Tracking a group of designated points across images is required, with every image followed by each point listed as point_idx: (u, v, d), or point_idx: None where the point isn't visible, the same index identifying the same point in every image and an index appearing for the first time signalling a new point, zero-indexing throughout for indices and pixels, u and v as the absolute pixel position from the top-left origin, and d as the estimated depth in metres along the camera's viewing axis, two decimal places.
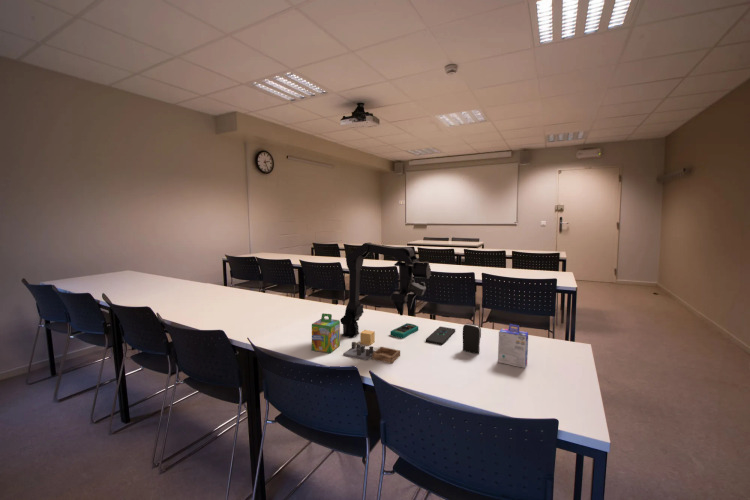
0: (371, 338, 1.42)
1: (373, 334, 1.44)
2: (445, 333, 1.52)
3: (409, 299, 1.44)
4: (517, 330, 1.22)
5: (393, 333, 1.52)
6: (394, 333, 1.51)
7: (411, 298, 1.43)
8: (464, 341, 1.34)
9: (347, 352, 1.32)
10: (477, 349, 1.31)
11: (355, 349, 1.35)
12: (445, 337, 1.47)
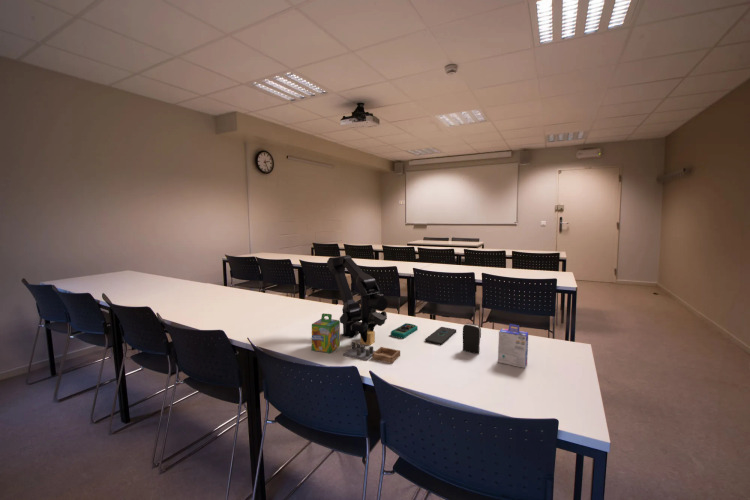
0: (371, 337, 1.42)
1: (373, 334, 1.44)
2: (445, 333, 1.52)
3: (369, 328, 1.46)
4: (517, 330, 1.22)
5: (393, 334, 1.51)
6: (394, 333, 1.51)
7: (371, 328, 1.46)
8: (464, 341, 1.34)
9: (347, 352, 1.32)
10: (477, 349, 1.31)
11: (355, 349, 1.35)
12: (445, 337, 1.47)
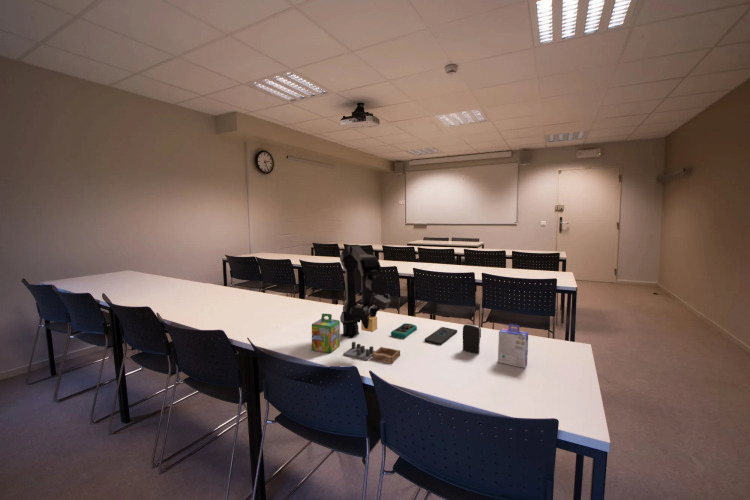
0: (373, 323, 1.27)
1: (375, 319, 1.28)
2: (446, 334, 1.51)
3: (371, 314, 1.31)
4: (517, 330, 1.22)
5: (393, 334, 1.51)
6: (395, 334, 1.51)
7: (373, 313, 1.30)
8: (464, 341, 1.34)
9: (347, 352, 1.32)
10: (477, 349, 1.31)
11: (355, 349, 1.35)
12: (445, 337, 1.46)
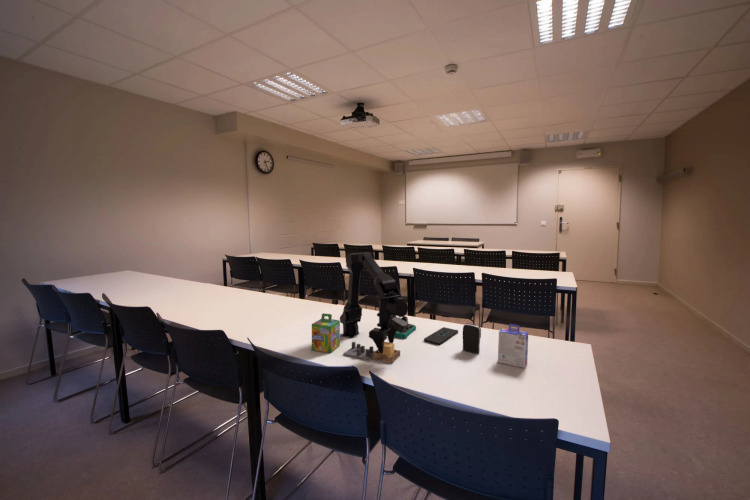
0: (391, 351, 1.27)
1: (393, 346, 1.28)
2: (446, 334, 1.51)
3: (391, 333, 1.33)
4: (517, 330, 1.22)
5: None
6: (395, 334, 1.50)
7: (393, 333, 1.32)
8: (464, 341, 1.34)
9: (347, 352, 1.32)
10: (477, 349, 1.31)
11: (355, 349, 1.35)
12: (444, 338, 1.46)
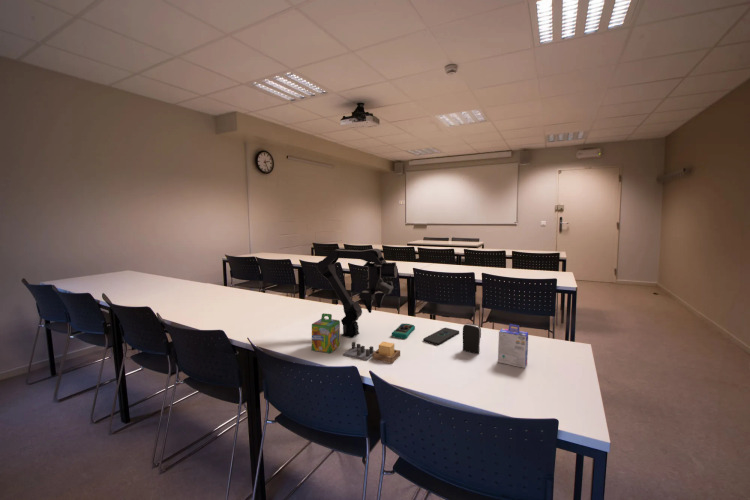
0: (391, 351, 1.27)
1: (393, 346, 1.28)
2: (446, 334, 1.51)
3: (379, 298, 1.53)
4: (517, 330, 1.22)
5: (395, 335, 1.50)
6: (396, 334, 1.50)
7: (380, 297, 1.53)
8: (464, 341, 1.34)
9: (347, 352, 1.32)
10: (477, 349, 1.31)
11: (355, 349, 1.35)
12: (444, 338, 1.46)
